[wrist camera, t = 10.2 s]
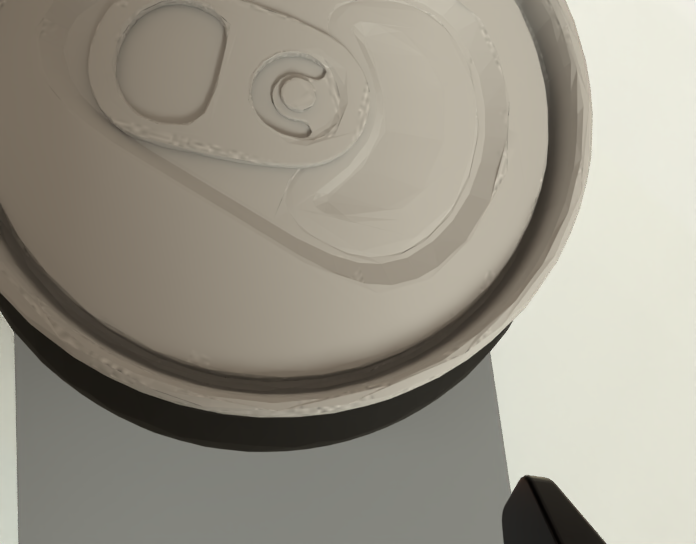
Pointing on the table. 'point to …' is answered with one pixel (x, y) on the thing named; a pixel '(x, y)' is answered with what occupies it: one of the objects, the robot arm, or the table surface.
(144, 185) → the beverage can
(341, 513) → the placemat
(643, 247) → the table surface
